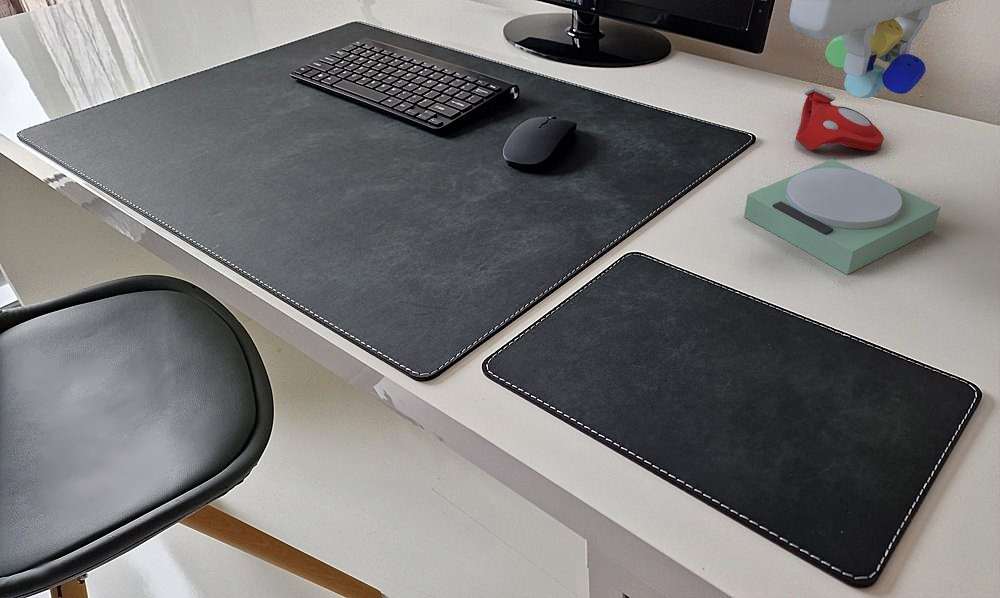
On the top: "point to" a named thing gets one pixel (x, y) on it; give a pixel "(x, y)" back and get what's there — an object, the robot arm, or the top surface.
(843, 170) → the scale
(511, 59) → the top surface
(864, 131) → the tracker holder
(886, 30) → the dice
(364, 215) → the top surface
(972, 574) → the top surface
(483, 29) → the top surface
